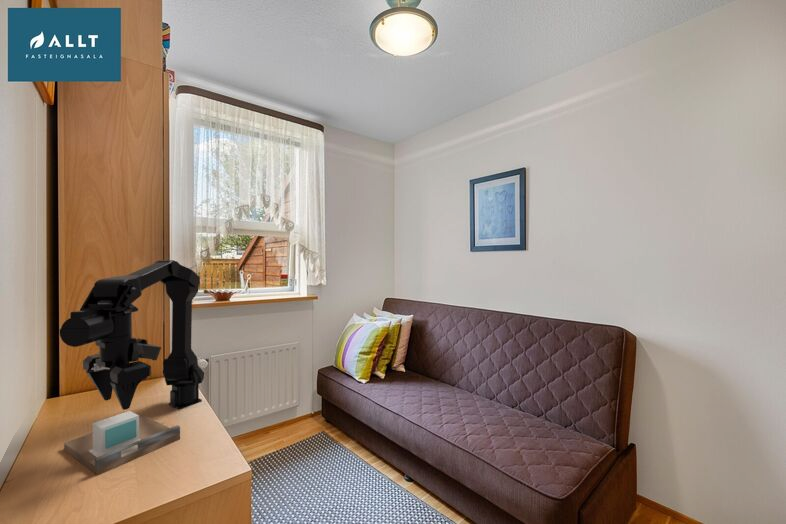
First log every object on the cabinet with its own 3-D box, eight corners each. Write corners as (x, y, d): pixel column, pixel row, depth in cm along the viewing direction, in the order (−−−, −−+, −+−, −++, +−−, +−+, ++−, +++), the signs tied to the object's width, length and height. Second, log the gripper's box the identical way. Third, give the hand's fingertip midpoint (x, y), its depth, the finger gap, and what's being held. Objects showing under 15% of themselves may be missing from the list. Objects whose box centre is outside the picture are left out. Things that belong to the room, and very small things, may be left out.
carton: (92, 450, 75) (92, 423, 75) (130, 436, 81) (129, 410, 81) (102, 457, 73) (101, 428, 73) (139, 441, 79) (139, 415, 79)
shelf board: (143, 420, 92) (143, 409, 92) (180, 439, 83) (180, 426, 83) (64, 449, 79) (63, 435, 78) (97, 475, 69) (97, 460, 69)
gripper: (176, 333, 79) (176, 400, 79) (137, 324, 89) (137, 384, 89) (118, 343, 69) (119, 420, 70) (81, 332, 79) (82, 400, 79)
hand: (116, 404), depth 77 cm, fingers open, 9 cm apart
